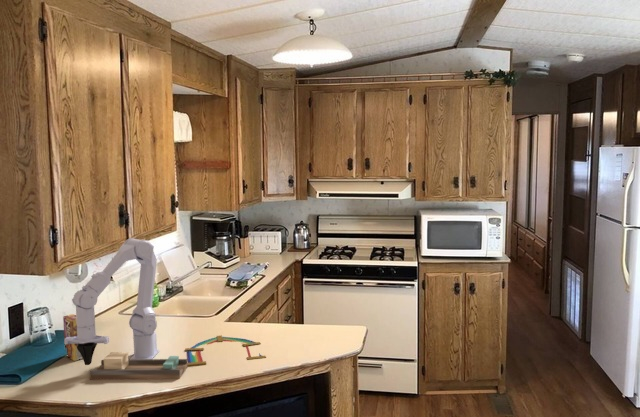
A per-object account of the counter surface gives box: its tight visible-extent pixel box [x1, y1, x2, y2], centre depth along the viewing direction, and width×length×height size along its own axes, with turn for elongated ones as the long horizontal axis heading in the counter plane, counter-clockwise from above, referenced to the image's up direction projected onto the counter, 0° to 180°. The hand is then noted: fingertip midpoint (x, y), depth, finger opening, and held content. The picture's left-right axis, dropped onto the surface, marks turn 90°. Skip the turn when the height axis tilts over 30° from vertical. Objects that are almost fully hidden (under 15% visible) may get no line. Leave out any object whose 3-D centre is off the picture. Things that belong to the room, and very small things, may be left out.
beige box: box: [103, 351, 129, 369], centre depth 184 cm, size 6×6×4 cm
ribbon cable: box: [184, 335, 267, 368], centre depth 207 cm, size 29×1×30 cm
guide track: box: [89, 355, 188, 380], centre depth 184 cm, size 10×30×4 cm, turn 89°
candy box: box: [62, 313, 83, 362], centre depth 200 cm, size 9×4×15 cm, turn 47°
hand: (88, 363), depth 184 cm, fingers closed
